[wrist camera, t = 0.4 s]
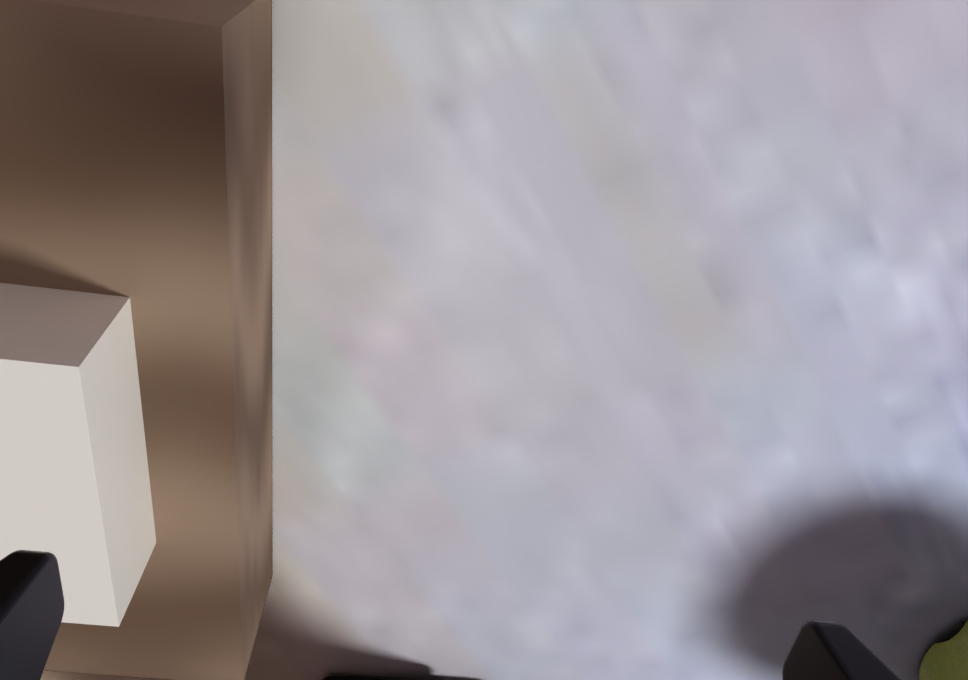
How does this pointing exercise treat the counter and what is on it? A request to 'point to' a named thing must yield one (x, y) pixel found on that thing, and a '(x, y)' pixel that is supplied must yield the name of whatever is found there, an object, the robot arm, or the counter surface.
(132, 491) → the tile
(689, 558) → the counter surface
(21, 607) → the robot arm
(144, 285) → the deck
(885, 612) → the counter surface
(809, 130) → the counter surface
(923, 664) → the plant pot
